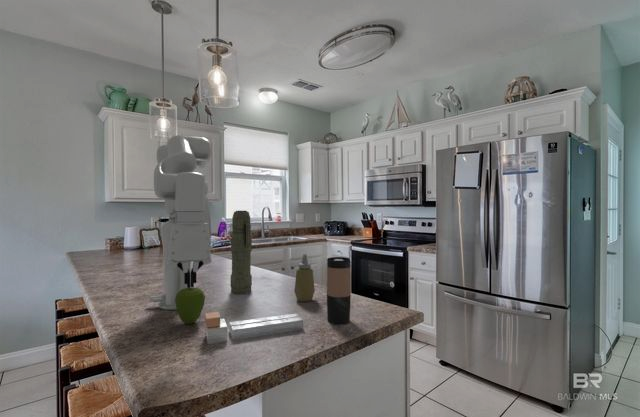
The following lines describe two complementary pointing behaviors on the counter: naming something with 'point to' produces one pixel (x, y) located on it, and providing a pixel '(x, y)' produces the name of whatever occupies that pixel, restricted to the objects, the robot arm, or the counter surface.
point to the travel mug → (338, 290)
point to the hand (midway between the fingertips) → (190, 286)
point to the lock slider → (212, 319)
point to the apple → (189, 304)
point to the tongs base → (252, 329)
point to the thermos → (241, 253)
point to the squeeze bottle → (304, 281)
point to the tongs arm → (262, 320)
